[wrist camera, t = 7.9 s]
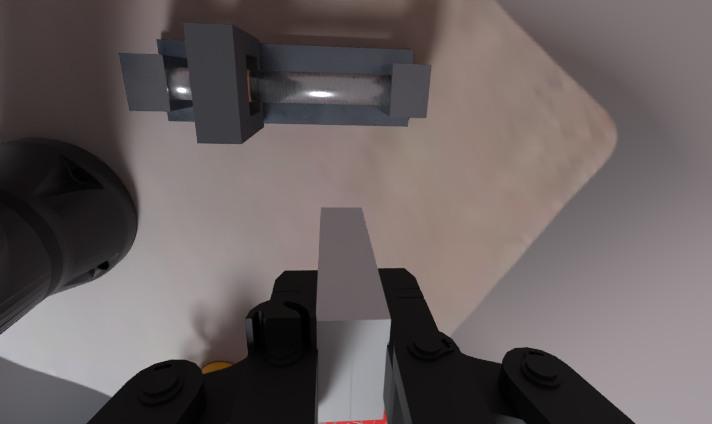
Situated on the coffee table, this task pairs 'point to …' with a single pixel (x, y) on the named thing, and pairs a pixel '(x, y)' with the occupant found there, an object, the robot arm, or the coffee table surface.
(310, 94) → the rail
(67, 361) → the coffee table surface
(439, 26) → the coffee table surface
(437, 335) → the robot arm
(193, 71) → the dark gray notched block
